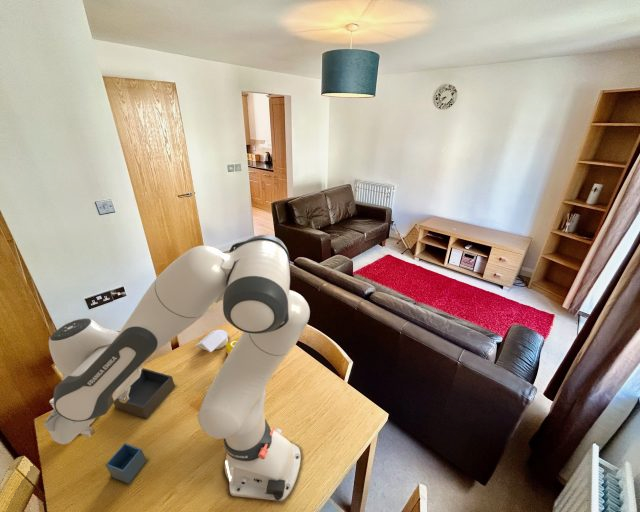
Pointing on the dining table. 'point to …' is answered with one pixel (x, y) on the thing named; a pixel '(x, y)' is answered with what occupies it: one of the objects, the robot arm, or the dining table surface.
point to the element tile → (231, 345)
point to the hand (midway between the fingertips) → (108, 416)
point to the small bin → (126, 463)
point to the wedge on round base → (214, 340)
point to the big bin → (146, 393)
